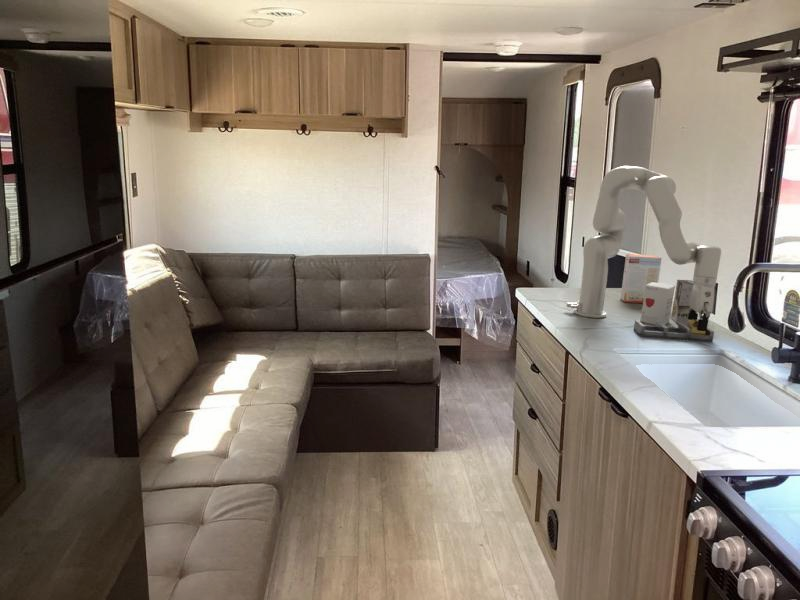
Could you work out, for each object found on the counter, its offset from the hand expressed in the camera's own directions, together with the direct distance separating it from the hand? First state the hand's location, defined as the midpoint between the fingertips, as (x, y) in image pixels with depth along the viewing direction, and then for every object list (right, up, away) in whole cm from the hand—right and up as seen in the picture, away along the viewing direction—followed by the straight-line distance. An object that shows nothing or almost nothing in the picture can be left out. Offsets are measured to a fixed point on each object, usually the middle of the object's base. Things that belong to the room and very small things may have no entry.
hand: (696, 327), depth 232 cm
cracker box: (-1, +9, +55) cm, 56 cm away
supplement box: (-7, +1, +21) cm, 22 cm away
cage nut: (0, -3, +1) cm, 3 cm away
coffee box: (+5, +1, +25) cm, 25 cm away
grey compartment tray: (-8, -3, +2) cm, 9 cm away
